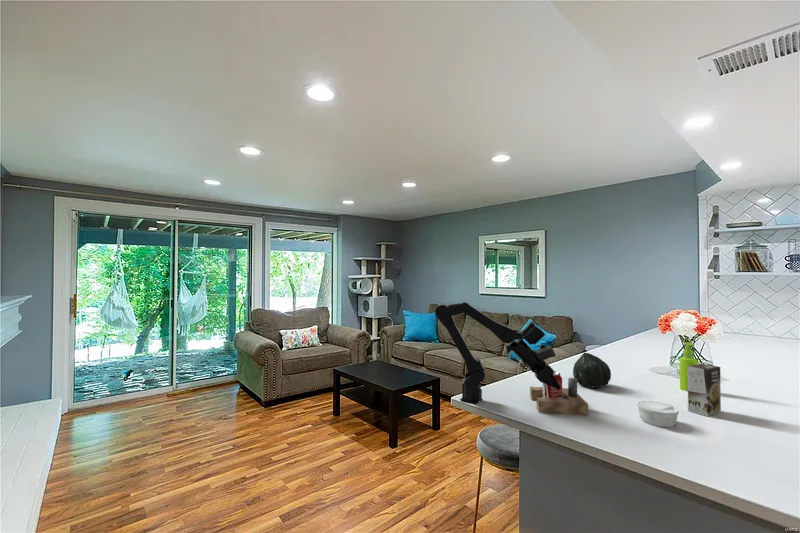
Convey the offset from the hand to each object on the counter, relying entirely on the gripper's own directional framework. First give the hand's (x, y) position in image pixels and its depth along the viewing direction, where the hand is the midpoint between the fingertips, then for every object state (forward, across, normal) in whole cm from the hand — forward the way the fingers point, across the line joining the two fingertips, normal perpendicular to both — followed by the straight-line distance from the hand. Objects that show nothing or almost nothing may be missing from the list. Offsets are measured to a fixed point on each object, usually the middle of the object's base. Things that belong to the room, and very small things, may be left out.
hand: (556, 384), depth 138 cm
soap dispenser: (+48, +29, -37) cm, 67 cm away
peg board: (+5, 0, +5) cm, 8 cm away
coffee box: (+41, +3, -30) cm, 51 cm away
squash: (+21, +29, -10) cm, 37 cm away
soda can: (+4, 0, +7) cm, 8 cm away
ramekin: (+26, -10, -15) cm, 32 cm away
